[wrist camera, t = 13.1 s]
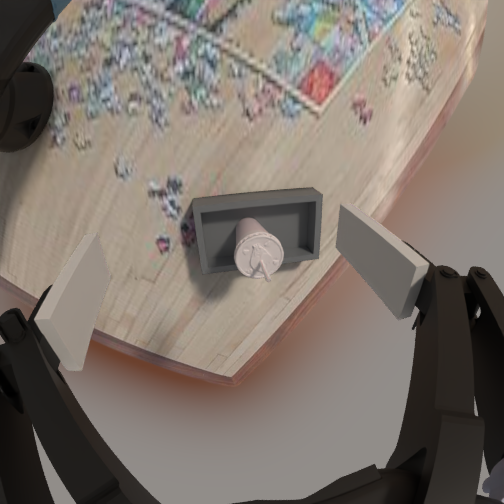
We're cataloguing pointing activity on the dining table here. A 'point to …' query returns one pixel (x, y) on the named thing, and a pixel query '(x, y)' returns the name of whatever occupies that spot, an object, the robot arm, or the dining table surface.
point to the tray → (267, 215)
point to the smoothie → (256, 250)
